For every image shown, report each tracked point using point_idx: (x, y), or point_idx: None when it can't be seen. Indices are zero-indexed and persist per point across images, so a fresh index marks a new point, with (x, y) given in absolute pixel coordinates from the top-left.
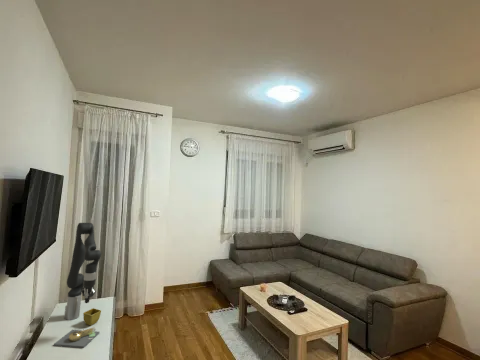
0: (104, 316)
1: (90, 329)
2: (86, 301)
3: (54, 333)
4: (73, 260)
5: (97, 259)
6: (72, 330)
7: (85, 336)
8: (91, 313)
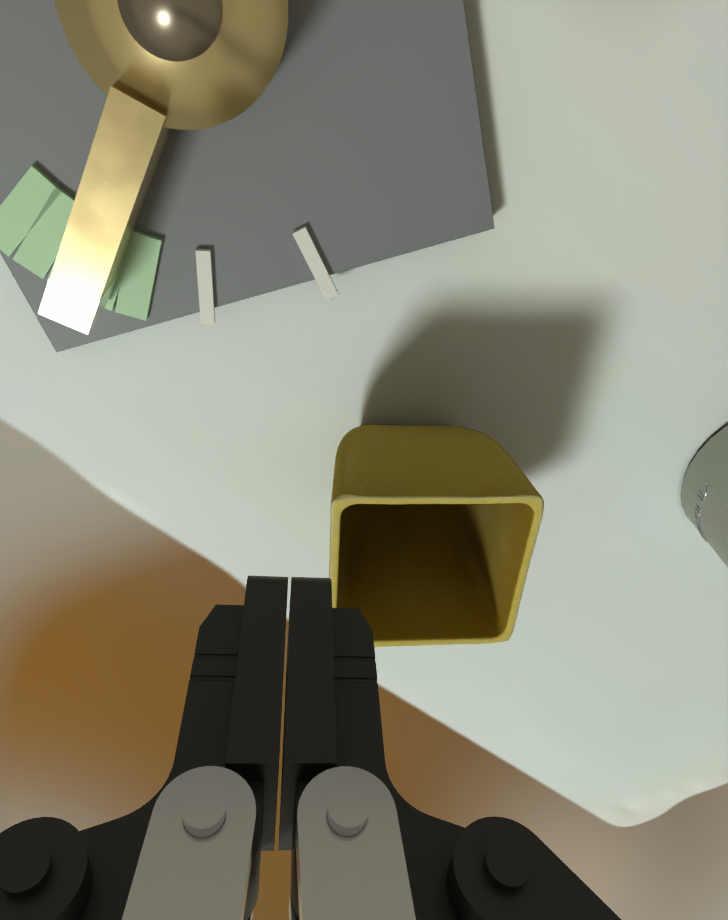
0: None
1: (66, 250)
2: (244, 631)
3: (715, 53)
4: None
5: None
6: (472, 208)
7: None
8: (487, 569)
